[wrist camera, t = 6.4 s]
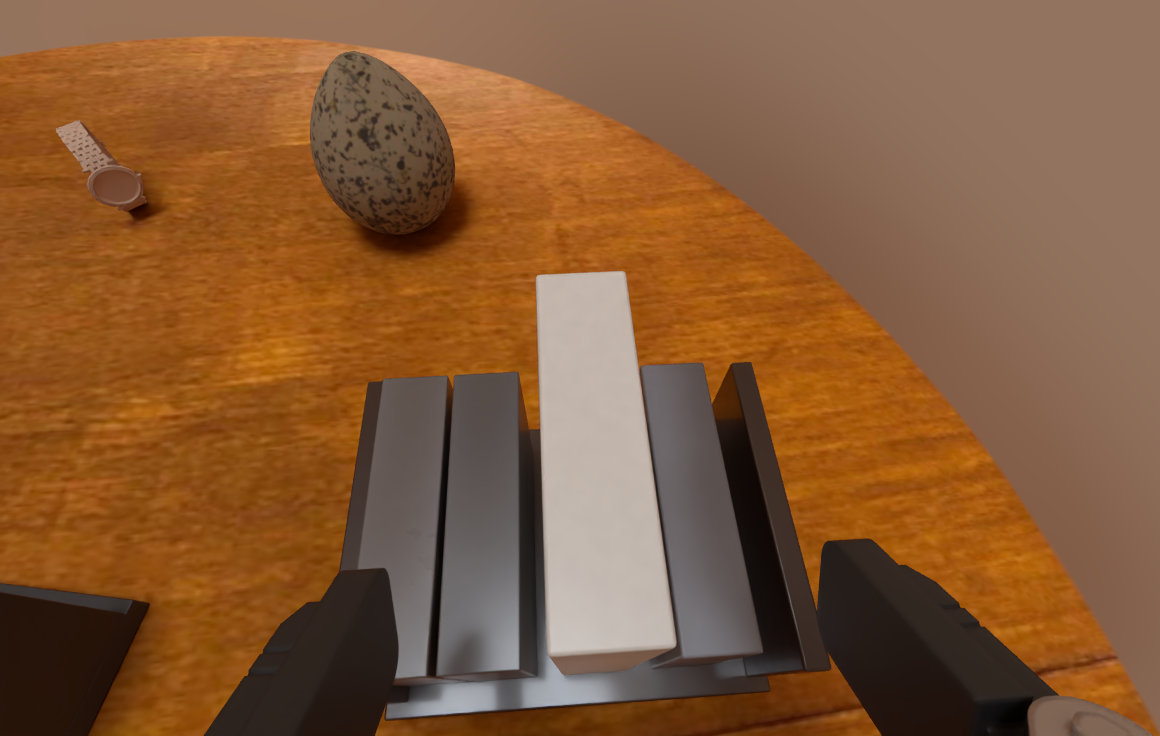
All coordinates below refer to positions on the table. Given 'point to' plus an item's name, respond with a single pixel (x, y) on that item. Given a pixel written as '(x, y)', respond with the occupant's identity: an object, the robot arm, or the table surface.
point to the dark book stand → (59, 657)
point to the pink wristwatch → (103, 169)
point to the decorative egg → (380, 146)
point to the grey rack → (516, 550)
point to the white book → (597, 482)
